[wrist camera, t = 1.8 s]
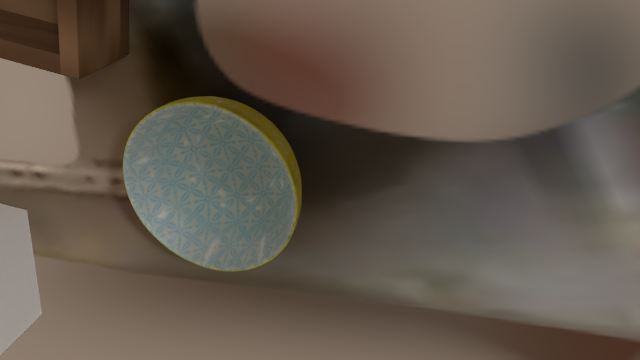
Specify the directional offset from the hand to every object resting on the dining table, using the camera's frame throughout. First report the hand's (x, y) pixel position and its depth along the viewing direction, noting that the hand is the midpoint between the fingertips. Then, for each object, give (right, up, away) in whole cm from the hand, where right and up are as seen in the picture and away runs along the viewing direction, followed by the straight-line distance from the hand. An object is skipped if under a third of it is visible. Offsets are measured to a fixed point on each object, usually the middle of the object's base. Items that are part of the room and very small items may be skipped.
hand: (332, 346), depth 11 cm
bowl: (-5, +5, +30) cm, 31 cm away
